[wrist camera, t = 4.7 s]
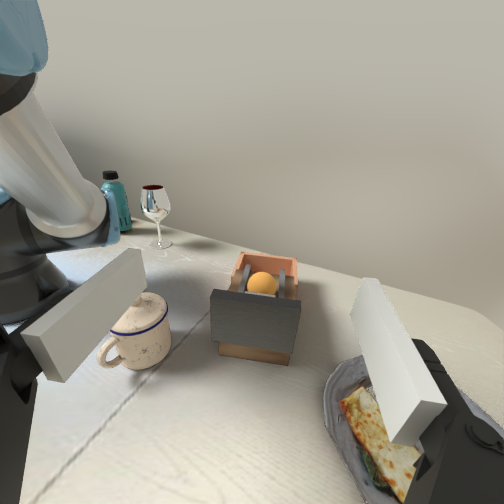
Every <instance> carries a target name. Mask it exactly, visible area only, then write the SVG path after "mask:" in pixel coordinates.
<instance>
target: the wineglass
mask: <svg viewBox="0 0 504 504" xmlns="http://www.w3.org/2000/svg"><path fill="white" fill-rule="evenodd" d="M140 208H141V211H142V213H143V214H144V215H145V216H147V217H148V218H150V219H152V220H153V221H155V222H156V224H157V229H158V236H159V240H155V241H153V242H151V244H150V246H151V247H152V248H154V249H164V248H167V247H169V246H170V245H171V241H170V240H167V239H162V238H161V231H160V222H161V220H162V219H163V218H164V217H166V216H167V214H168V213H169V211H170V203H169V199H168V197H167V194H166V192H165V189H164V187H163V186H161V185H147V186H143V187H142V190H141V198H140Z"/></svg>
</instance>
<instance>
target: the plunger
mask: <svg viewBox="0 0 504 504" xmlns="http://www.w3.org/2000/svg"><path fill="white" fill-rule="evenodd" d="M210 312H211V339H212V341H217V342H223V343H230V344H236V345H242V346H248V347H255V348H261V349H267V350H273V351H280V352H286V353H292V350H293V346H294V341H295V336H296V332H297V327H298V322H299V317H300V313H301V301H299V300H291V299H284V298H277V297H275V295H269V294H262V293H254V292H247V291H245V293H241V292H233V291H226V290H219V289H213V292H212V294H211V296H210Z"/></svg>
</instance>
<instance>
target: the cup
mask: <svg viewBox="0 0 504 504" xmlns="http://www.w3.org/2000/svg"><path fill="white" fill-rule="evenodd" d="M246 264H249V265H251V271H256V272H266V273H271V274H279V275H280V268H281V269H285V275H287V276H294V285H295V297H296V292H297V286H298V279H297V259H296V258H289V257H281V256H273V255H265V254H256V253H248V252H241V253H240V255H239V258H238V261H237V263H236V266H235V268H234V271H233V274H232V276H231V282H232V279H233V277H234V274H235V271H236V269H240V270H244V269H245V266H246Z"/></svg>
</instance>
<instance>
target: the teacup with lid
mask: <svg viewBox="0 0 504 504" xmlns="http://www.w3.org/2000/svg"><path fill="white" fill-rule="evenodd" d="M167 312H168V305H167V303H166V301H165V300H164V299H163V298H162V297H161V296H159V295H157V294H154V293H149V292H142V294H141V295H140V296H139V297H138V298H137V299H136V301H135V302H134V303H133V304H132V305H131V306H130V308H129V309H128V310H127V311H126V312H125V313H124V314H123V316H122V317H121V318H120V319H119V320H118V321H117V323H116V324H115V325H114V326H113V327H112V328H111V330H110V334H111V337H112V338H110V339H109V340H108V341H107V342H105V343H104V344H103V346H102V347H101V348H100V350H99V352H98V354H97V361H98V363H99V364H100V365H101V366H102V367H104V368H113V367H116V366H117V365H119V364H120V363H121V364H122V365H124V366H125V367H127V368H129V369H136V370H138V369H145V368H149V367H151V366H153V365H155V364H157V363H158V362H160V361H161V360H162V359H163V358H164V357H165V356H166V355H167V354H168V352H169V350H170V348H171V334H170V328H169V322H168V315H167ZM113 346H115V349H116V352H117V355H118V356H117V357H116V358H115V359H113V360H111V361H109V362H106V355H107V353H108V351H109V350H110V349H111V348H112V347H113Z"/></svg>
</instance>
